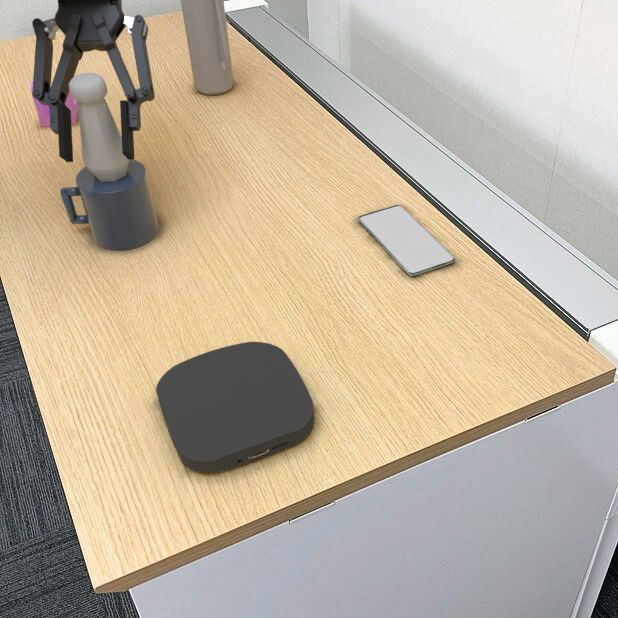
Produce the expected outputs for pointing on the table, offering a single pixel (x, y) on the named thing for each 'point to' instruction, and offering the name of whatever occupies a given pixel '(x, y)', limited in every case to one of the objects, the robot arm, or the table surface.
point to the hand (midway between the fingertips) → (97, 157)
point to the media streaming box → (234, 406)
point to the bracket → (45, 113)
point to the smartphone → (406, 240)
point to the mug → (115, 208)
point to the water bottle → (208, 45)
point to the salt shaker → (98, 129)
